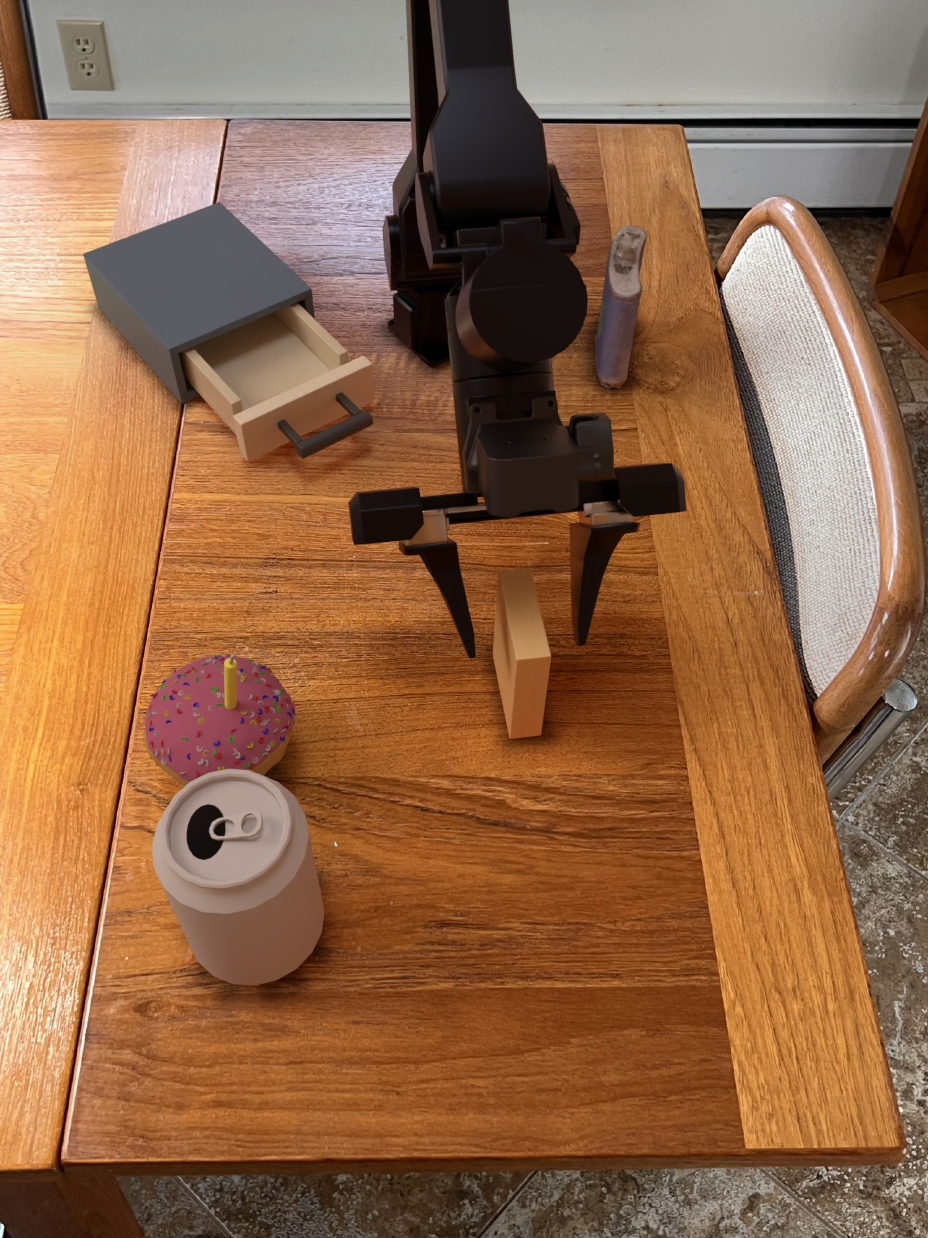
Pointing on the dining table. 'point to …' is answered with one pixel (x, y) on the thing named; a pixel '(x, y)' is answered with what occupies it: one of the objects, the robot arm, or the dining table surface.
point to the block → (520, 653)
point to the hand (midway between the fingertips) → (526, 651)
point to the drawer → (281, 383)
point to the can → (240, 875)
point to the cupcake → (218, 718)
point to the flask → (619, 306)
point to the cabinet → (189, 287)
